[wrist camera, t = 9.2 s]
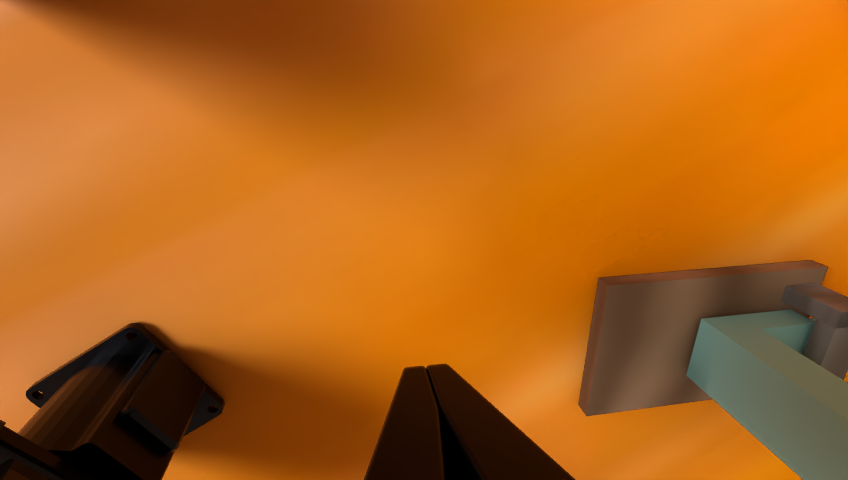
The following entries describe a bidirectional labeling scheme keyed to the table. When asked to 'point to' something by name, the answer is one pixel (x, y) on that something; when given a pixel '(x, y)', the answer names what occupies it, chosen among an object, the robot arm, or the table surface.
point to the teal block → (776, 388)
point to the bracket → (695, 328)
